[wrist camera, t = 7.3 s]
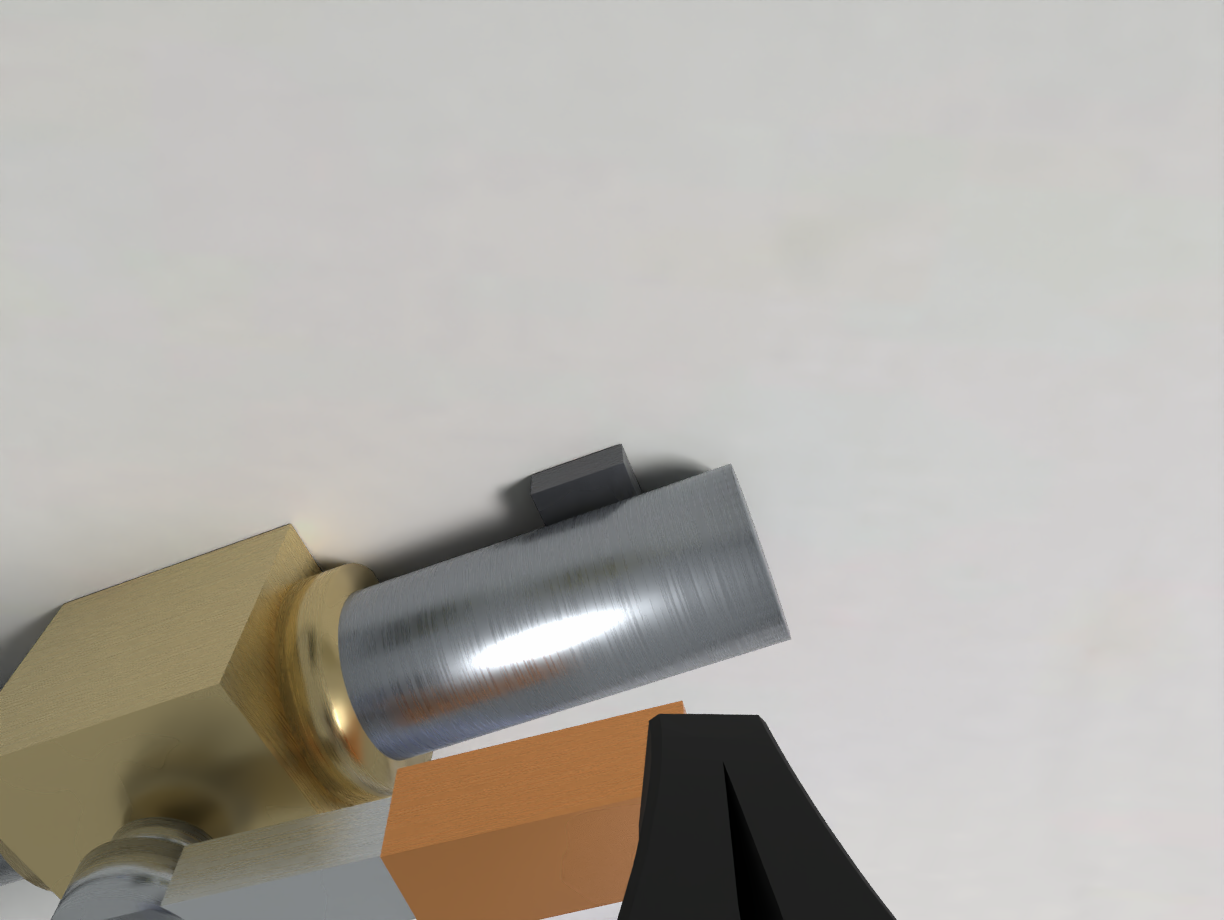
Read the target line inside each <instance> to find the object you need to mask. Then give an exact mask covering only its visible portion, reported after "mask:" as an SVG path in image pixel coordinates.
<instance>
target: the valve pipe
mask: <svg viewBox="0 0 1224 920" xmlns="http://www.w3.org/2000/svg"><path fill="white" fill-rule="evenodd" d="M531 496H532V498H533V500H534V502H535V505H536V507H537V509H538V511H539V513H540V515H541V517H542V519H543V521H544V523H545V525H546V527H543V528H540V529H537V530H534V531H531V532H528V533H525V534H522V535H519V536H516V537H514V538H511V539H508V540H505V541H502V542H499V543H496V544H493V545H490V546H487V547H484V548H481V549H478V550H475V551H472V552H469V553H466V554H464V555H461V556H458V557H455V558H452V559H449V560H446V561H443V562H440V563H437V564H434V565H431V566H428V567H425V568H422V569H419V570H417V571H414V572H411V573H408V574H405V575H402V576H399V577H396V578H393V579H390V580H387V581H384V582H381V583H379V581H378V580H377V578H376V577H375V575H374V573H373V572H372V570H370V569H369V568H367V567H365V566H363V565H360V564H355V563H349V564H345V565H342V566H339V567H336V568H333V569H330V570H327V571H324V572H321V570H320V569H319V567H318V565H317V564H316V562H315V561H314V559H313V558H312V556H311V554H310V553H309V551H308V550H307V548H306V547H305V545H304V543H303V542H302V540H301V539H300V537H299V536H298V534H297V532H296V531H295V529H294V528H293V526H292V525H291V524H289V525H286V526H283V527H280V528H277V529H274V530H272V531H269V532H266V533H263V534H260V535H257V536H255V537H252V538H249V539H246V540H243V541H241V542H238V543H235V544H232V545H229V546H226V547H224V548H221V549H218V550H215V551H212V552H209V553H207V554H204V555H201V556H198V557H195V558H192V559H190V560H187V561H184V562H181V563H178V564H176V565H173V566H170V567H167V568H164V569H161V570H159V571H156V572H153V573H150V574H147V575H144V576H142V577H139V578H136V579H133V580H130V581H127V582H125V583H122V584H119V585H116V586H113V587H110V588H108V589H105V590H102V591H99V592H96V593H94V594H91V595H88V596H85V597H82V598H79V599H77V600H74V601H71V602H68V603H65V604H63V606H62V607H61V609H60V610H59V611H58V613H57V614H56V616H55V617H54V618H53V620H52V621H51V622H50V624H49V625H48V627H47V628H46V629H45V631H44V632H43V633H42V635H41V636H40V638H39V639H38V640H37V642H36V643H35V644H34V646H33V647H32V649H31V650H30V651H29V653H28V654H27V655H26V657H25V658H24V660H23V661H22V662H21V664H20V665H19V667H18V668H17V669H16V671H15V672H14V673H13V675H12V676H11V678H10V679H9V680H8V682H7V683H6V684H5V686H4V687H3V689H2V690H1V691H0V886H2V885H5V884H9V883H12V882H15V881H18V880H22V879H26V880H27V881H29V882H30V883H32V884H34V885H35V886H38V887H40V888H43V889H45V890H48V891H53V892H54V893H55V894H56V895H57V896H58V897H59V898H60V899H62V897H63V895H64V893H65V891H66V889H67V887H68V885H69V883H70V881H71V879H72V877H73V875H74V873H75V871H76V870H77V868H78V866H79V864H80V862H81V860H82V859H83V858H84V857H85V856H86V855H87V854H88V853H89V852H90V851H91V850H93V849H95V848H96V847H98V846H100V845H102V844H104V843H107V842H110V841H111V839H112V837H113V835H114V834H115V833H116V832H117V830H118V829H120V828H121V827H122V826H124V825H125V824H127V823H129V822H132V821H134V820H138V819H142V818H148V817H166V818H173V819H178V820H182V821H185V822H188V823H190V824H193V825H195V826H197V827H199V828H200V829H202V830H203V831H205V832H206V833H207V834H209V835H210V836H211V837H212V838H213V839H216V838H220V837H224V836H228V835H233V834H237V833H241V832H245V831H250V830H254V829H258V828H262V827H266V826H271V825H275V824H279V823H283V822H288V821H292V820H296V819H300V818H304V817H309V816H313V815H317V814H321V813H326V812H330V811H334V810H338V809H343V808H347V807H351V806H355V805H359V804H364V803H368V802H372V801H376V800H381V799H385V798H389V797H392V794H393V789H394V784H395V778H396V773H397V769H399V768H403V767H407V766H412V765H416V764H420V763H424V762H428V761H431V758H432V754H433V751H435V750H438V749H441V748H444V747H447V746H451V745H454V744H457V743H460V742H463V741H467V740H470V739H473V738H476V737H479V736H483V735H486V734H489V733H492V732H495V731H499V730H502V729H505V728H508V727H511V726H515V725H518V724H521V723H524V722H527V721H531V720H534V719H537V718H540V717H543V716H547V715H550V714H553V713H556V712H559V711H563V710H566V709H569V708H572V707H575V706H579V705H582V704H585V703H588V702H591V701H595V700H598V699H601V698H604V697H607V696H611V695H614V694H617V693H620V692H623V691H627V690H630V689H633V688H636V687H639V686H643V685H646V684H649V683H652V682H655V681H659V680H662V679H665V678H668V677H671V676H675V675H678V674H681V673H684V672H687V671H691V670H694V669H697V668H700V667H703V666H707V665H710V664H713V663H716V662H719V661H723V660H726V659H729V658H732V657H735V656H739V655H742V654H745V653H748V652H751V651H755V650H758V649H761V648H764V647H768V646H771V645H774V644H777V643H780V642H784V641H787V640H790V639H791V636H790V632H789V629H788V625H787V622H786V619H785V616H784V612H783V609H782V606H781V603H780V600H779V597H778V594H777V591H776V588H775V585H774V582H773V579H772V576H771V573H770V570H769V567H768V564H767V561H766V558H765V555H764V552H763V549H762V546H761V543H760V541H759V538H758V535H757V532H756V529H755V526H754V523H753V520H752V518H751V515H750V512H749V509H748V506H747V504H746V501H745V498H744V495H743V493H742V490H741V487H740V485H739V482H738V479H737V477H736V474H735V472H734V469H733V467H732V465H731V464H728V465H725V466H722V467H719V468H716V469H713V470H711V471H708V472H705V473H702V474H699V475H696V476H693V477H690V478H687V479H684V480H681V481H678V482H675V483H672V484H669V485H666V486H663V487H661V488H658V489H655V490H652V491H649V492H646V493H643V494H642V491H641V489H640V487H639V484H638V482H637V479H636V477H635V475H634V472H633V470H632V467H631V465H630V463H629V460H628V458H627V456H626V453H625V451H624V448H623V446H622V444H620V445H617V446H614V447H611V448H608V449H606V450H603V451H600V452H597V453H594V454H591V455H588V456H585V457H583V458H580V459H577V460H574V461H571V462H568V463H565V464H563V465H560V466H557V467H554V468H551V469H548V470H545V471H542V472H540V473H537V474H534V475H532V483H531Z"/></svg>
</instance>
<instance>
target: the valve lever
mask: <svg viewBox="0 0 1224 920" xmlns="http://www.w3.org/2000/svg"><path fill="white" fill-rule="evenodd" d="M658 714H686V711H685V708H684V705H683V701H679V702H675V703H670V704H666V705H662V706H658V707H654V708H650V709H645V710H641V711H637V712H633V713H629V714H625V715H620V716H616V717H612V718H608V719H604V720H599V721H595V722H591V723H587V724H583V725H579V726H574V727H570V728H566V729H562V730H558V731H554V732H549V733H545V734H541V735H537V736H533V737H528V738H524V739H520V740H516V741H512V742H508V743H503V744H499V745H495V746H491V747H487V748H483V749H478V750H474V751H470V752H466V753H462V754H458V755H453V756H449V757H445V758H441V759H437V760H432V761H428V762H424V763H420V764H416V765H412V766H407V767H403V768H399V769H397V773H396V778H395V784H394V789H393V794H392V797H389V798H385V799H381V800H376V801H372V802H368V803H364V804H359V805H355V806H351V807H347V808H343V809H338V810H334V811H330V812H326V813H321V814H317V815H313V816H309V817H304V818H300V819H296V820H292V821H288V822H283V823H279V824H275V825H271V826H266V827H262V828H258V829H254V830H250V831H245V832H241V833H237V834H233V835H228V836H224V837H220V838H216V839H213V838H212V837H211V836H210V835H209V834H207V833H206V832H205V831H203V830H202V829H200V828H199V827H197V826H195V825H193V824H190V823H188V822H185V821H182V820H178V819H173V818H166V817H148V818H142V819H138V820H134V821H132V822H129V823H127V824H125V825H124V826H122V827H121V828H120V829H118V830H117V832H116V833H115V834H114V835H113V837H112V839H111V841H110V842H107V843H104V844H102V845H100V846H98V847H96V848H95V849H93V850H91V851H90V852H89V853H88V854H87V855H86V856H85V857H84V858H83V859H82V860H81V862H80V864H79V866H78V868H77V870H76V871H75V873H74V875H73V877H72V879H71V881H70V883H69V885H68V887H67V889H66V891H65V893H64V895H63V897H62V899H61V901H60V903H59V905H58V907H57V909H56V911H55V913H54V915H53V916H52V918H51V920H412V919H417V920H540V919H544V918H549V917H553V916H558V915H562V914H567V913H572V912H576V911H581V910H585V909H590V908H594V907H599V906H603V905H608V904H612V903H617V902H621V901H623V898H624V895H625V891H626V888H627V884H628V881H629V877H630V874H631V870H632V867H633V863H634V859H635V855H636V850H637V846H638V841H639V816H640V806H641V796H642V786H643V776H644V765H645V755H646V745H647V735H648V725H649V720H651V719H652V718H653V717H655V716H656V715H658Z"/></svg>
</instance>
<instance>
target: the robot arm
mask: <svg viewBox="0 0 1224 920" xmlns="http://www.w3.org/2000/svg"><path fill="white" fill-rule="evenodd" d="M617 920H896V918H895V917H894V916H893V914H892V913H891V912H890V911H889V909H888V908H887V907H886V905H885V904H884V903H883V901H882V900H881V899H880V898H879V896H878V895H877V894H876V892H875V891H874V890H873V888H872V887H871V886H870V884H869V883H868V882H867V880H866V879H865V877H864V876H863V875H862V873H861V872H860V871H859V869H858V868H857V866H856V865H855V864H854V862H853V861H852V859H851V858H850V856H849V855H848V854H847V852H846V851H845V849H844V848H843V846H842V845H841V843H840V842H839V841H838V839H837V838H836V836H835V835H834V833H833V832H832V830H831V829H830V828H829V826H828V825H827V823H826V822H825V820H824V819H823V817H822V816H821V814H820V813H819V811H818V810H817V808H816V806H815V805H814V803H813V802H812V800H811V799H810V797H809V795H808V794H807V792H806V791H805V789H804V787H803V786H802V784H801V783H800V781H799V780H798V778H797V776H796V775H795V773H794V771H793V770H792V768H791V766H790V765H789V763H788V761H787V760H786V758H785V756H784V754H783V753H782V751H781V749H780V747H779V746H778V744H777V742H776V740H775V739H774V737H773V735H772V733H771V731H770V730H769V728H768V726H767V724H766V722H765V721H764V720H763V719H762V718H761V717H760V716H759V715H724V714H658V715H656V716H655V717H653V718H652V719H651V720H649V725H648V735H647V745H646V755H645V765H644V776H643V786H642V796H641V806H640V816H639V841H638V846H637V850H636V855H635V859H634V863H633V867H632V870H631V874H630V877H629V881H628V884H627V888H626V891H625V895H624V898H623V902H622V905H621V909H620V912H619V916H618V919H617Z"/></svg>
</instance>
